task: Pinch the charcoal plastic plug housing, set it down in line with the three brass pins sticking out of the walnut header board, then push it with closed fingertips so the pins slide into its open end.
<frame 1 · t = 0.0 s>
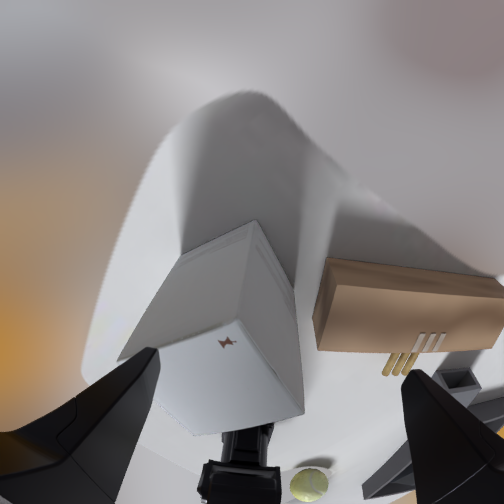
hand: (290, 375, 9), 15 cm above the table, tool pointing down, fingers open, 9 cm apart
tennis ball: (308, 470, 40), on the table
plug housing: (444, 381, 29), on the table
supplement box: (237, 273, 25), on the table
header: (417, 298, 24), on the table
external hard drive: (435, 448, 37), resting in bumper frame
bumper frame: (435, 448, 37), on the table
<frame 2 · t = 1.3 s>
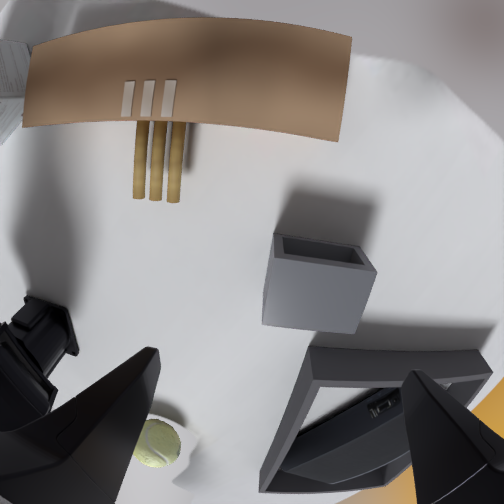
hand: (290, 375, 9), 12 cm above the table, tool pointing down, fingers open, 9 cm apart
tennis ball: (160, 424, 32), on the table
plug housing: (310, 269, 21), on the table
supplement box: (13, 94, 16), on the table
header: (177, 79, 16), on the table
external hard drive: (359, 430, 30), resting in bumper frame
bumper frame: (359, 430, 30), on the table
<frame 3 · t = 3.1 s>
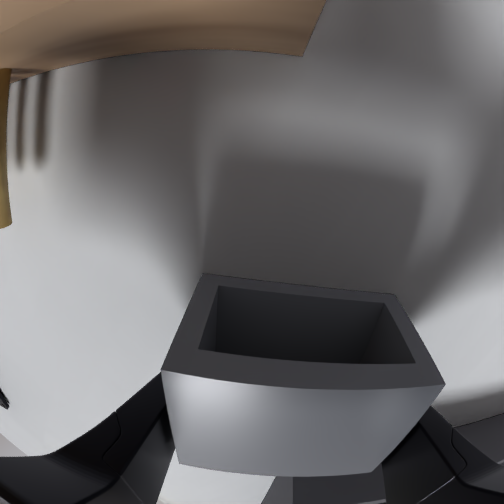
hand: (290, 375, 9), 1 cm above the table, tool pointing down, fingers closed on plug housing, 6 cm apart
plug housing: (291, 343, 10), on the table, touching gripper
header: (33, 12, 5), on the table
bumper frame: (366, 501, 18), on the table
when the fingers open (2 cm above the table, at t = 7.1 s): plug housing drops 1 cm, on the table.
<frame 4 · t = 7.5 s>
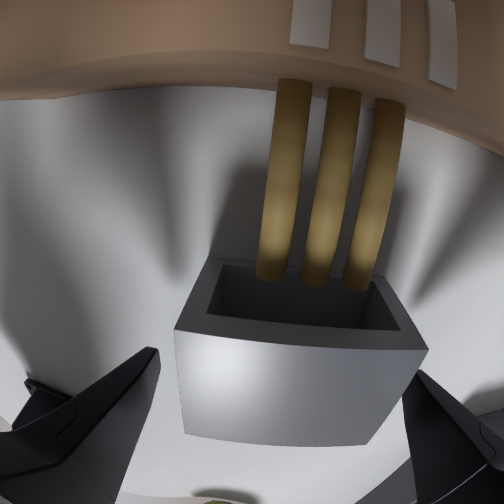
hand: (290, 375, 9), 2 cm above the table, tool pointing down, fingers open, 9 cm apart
tennis ball: (222, 503, 22), on the table
plug housing: (289, 321, 11), on the table
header: (337, 16, 7), on the table
bumper frame: (443, 477, 20), on the table
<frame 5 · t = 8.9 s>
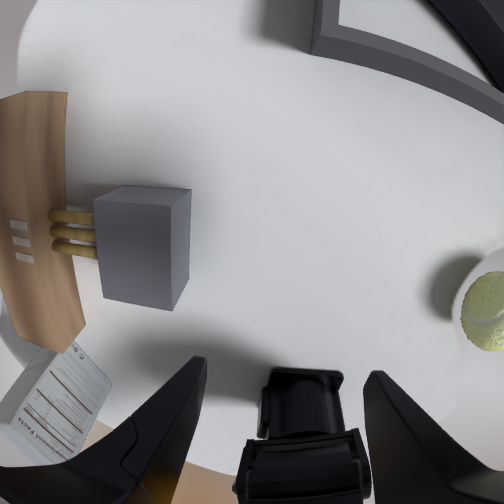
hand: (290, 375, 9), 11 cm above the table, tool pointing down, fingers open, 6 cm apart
tennis ball: (477, 293, 20), on the table
plug housing: (157, 232, 19), on the table
supplement box: (76, 364, 26), on the table
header: (42, 219, 19), on the table
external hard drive: (486, 5, 10), resting in bumper frame
bumper frame: (486, 5, 10), on the table
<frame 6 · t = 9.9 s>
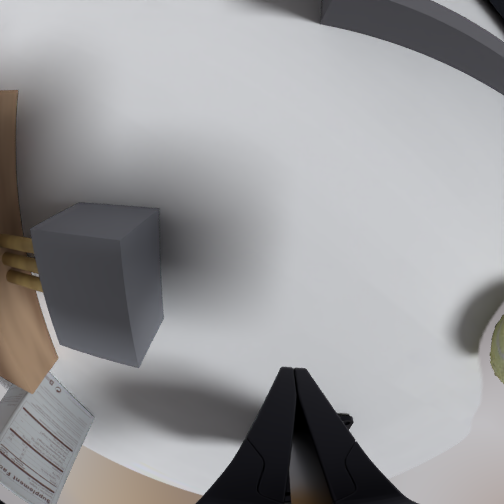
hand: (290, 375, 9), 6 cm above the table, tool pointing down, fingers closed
plug housing: (121, 261, 15), on the table
supplement box: (55, 394, 22), on the table
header: (0, 241, 15), on the table
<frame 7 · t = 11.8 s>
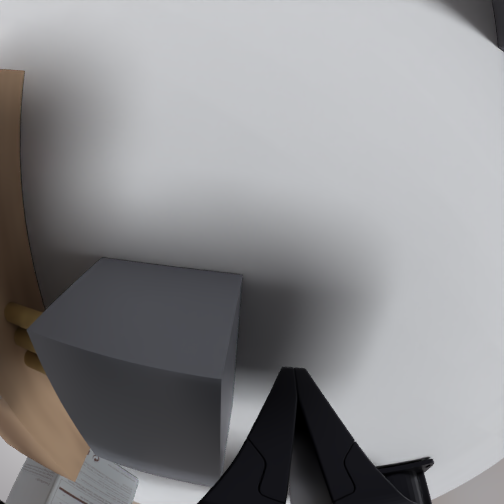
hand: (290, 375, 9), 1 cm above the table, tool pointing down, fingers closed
plug housing: (172, 342, 10), on the table, touching gripper
supplement box: (88, 455, 17), on the table
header: (6, 297, 10), on the table
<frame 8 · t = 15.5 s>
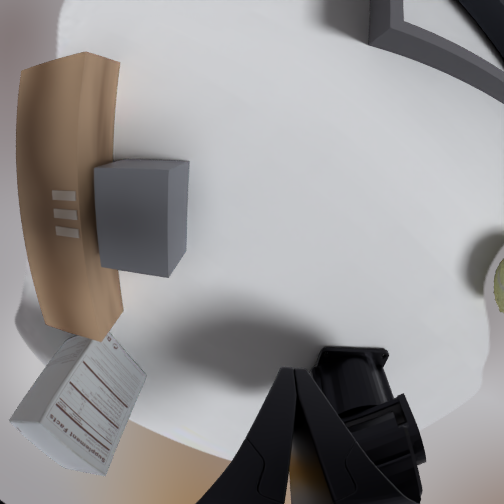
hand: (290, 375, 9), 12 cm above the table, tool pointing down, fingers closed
plug housing: (155, 204, 20), on the table
supplement box: (105, 356, 27), on the table
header: (81, 195, 20), on the table
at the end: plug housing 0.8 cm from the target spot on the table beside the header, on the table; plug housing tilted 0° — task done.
